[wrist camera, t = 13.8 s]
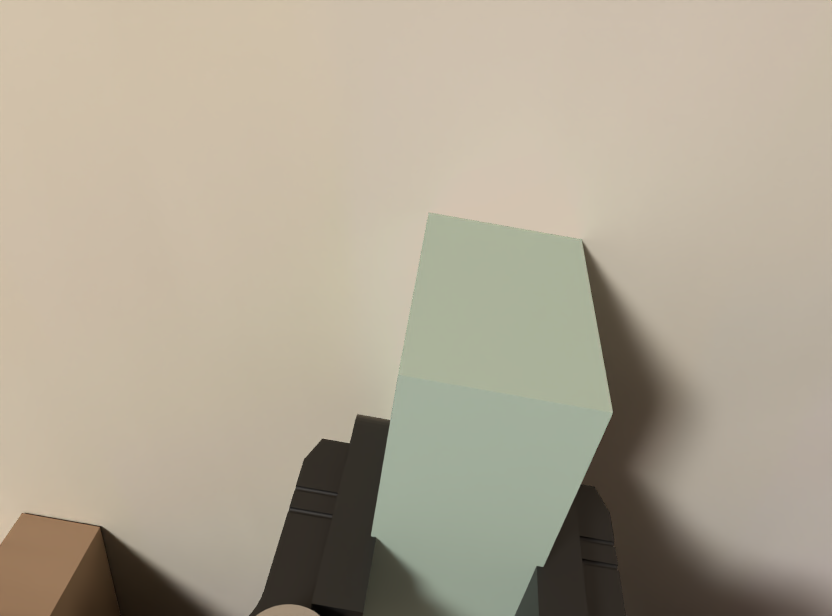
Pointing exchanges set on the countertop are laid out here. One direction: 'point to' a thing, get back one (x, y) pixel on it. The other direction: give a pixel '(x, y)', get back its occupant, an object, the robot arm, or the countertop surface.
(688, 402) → the countertop surface
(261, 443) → the countertop surface
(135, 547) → the countertop surface
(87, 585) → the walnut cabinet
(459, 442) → the sage stick
